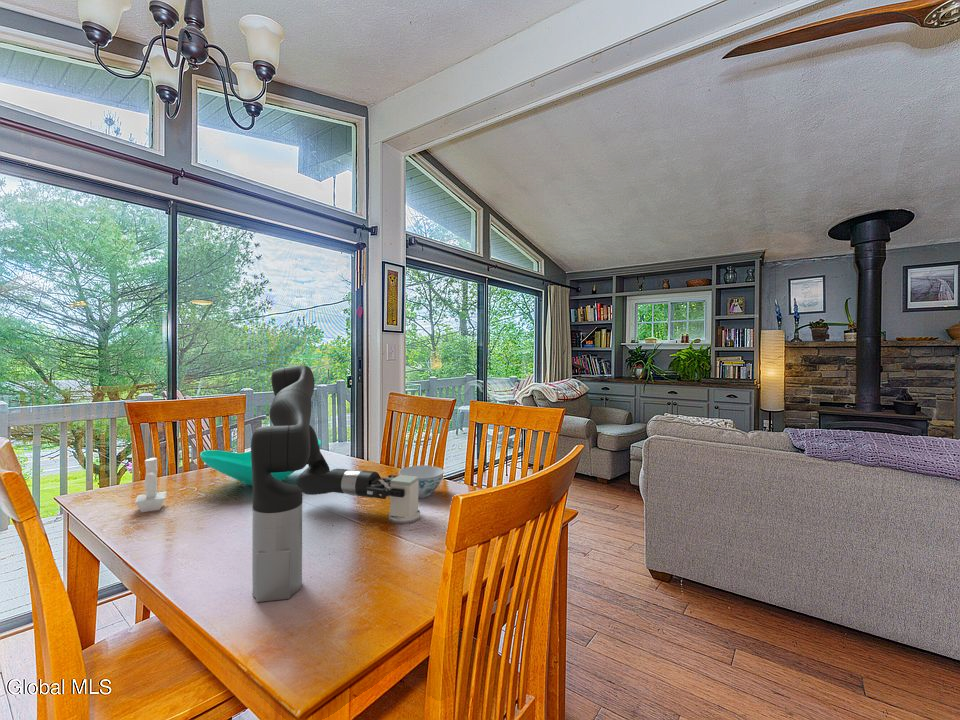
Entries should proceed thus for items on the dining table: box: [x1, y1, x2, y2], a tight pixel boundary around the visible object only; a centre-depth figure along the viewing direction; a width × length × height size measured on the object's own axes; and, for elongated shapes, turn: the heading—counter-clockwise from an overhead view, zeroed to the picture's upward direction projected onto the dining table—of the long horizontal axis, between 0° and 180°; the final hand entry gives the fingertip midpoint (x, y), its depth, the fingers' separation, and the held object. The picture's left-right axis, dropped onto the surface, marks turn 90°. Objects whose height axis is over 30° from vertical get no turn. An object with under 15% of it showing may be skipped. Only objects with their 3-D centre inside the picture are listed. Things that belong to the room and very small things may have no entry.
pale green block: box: [389, 474, 419, 518], centre depth 130 cm, size 6×6×10 cm
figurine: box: [134, 457, 168, 513], centre depth 134 cm, size 7×9×15 cm
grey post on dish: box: [388, 509, 421, 525], centre depth 130 cm, size 9×9×8 cm
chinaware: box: [398, 465, 445, 498], centre depth 151 cm, size 15×15×8 cm
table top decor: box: [199, 438, 323, 487], centre depth 160 cm, size 40×28×13 cm
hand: (410, 488), depth 130 cm, fingers open, 8 cm apart
